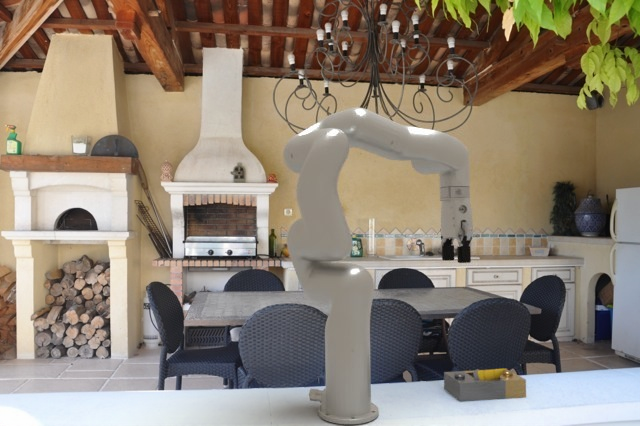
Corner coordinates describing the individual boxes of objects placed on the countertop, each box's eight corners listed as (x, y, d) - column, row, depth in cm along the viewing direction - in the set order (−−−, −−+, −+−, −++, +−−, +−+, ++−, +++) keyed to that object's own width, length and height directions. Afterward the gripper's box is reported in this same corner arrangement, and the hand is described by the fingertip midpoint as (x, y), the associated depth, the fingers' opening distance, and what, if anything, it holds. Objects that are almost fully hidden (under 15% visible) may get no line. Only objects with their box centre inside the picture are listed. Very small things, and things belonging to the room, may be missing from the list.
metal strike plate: (460, 401, 113) (459, 380, 113) (444, 388, 122) (443, 369, 122) (526, 397, 116) (525, 376, 116) (505, 385, 125) (505, 366, 125)
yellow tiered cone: (476, 389, 122) (513, 372, 119) (475, 402, 117) (514, 384, 114) (463, 371, 122) (499, 353, 119) (462, 383, 117) (500, 364, 114)
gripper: (484, 192, 122) (485, 263, 121) (454, 196, 139) (455, 259, 139) (454, 192, 121) (456, 264, 120) (428, 196, 138) (429, 259, 137)
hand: (455, 261), depth 129 cm, fingers open, 9 cm apart
